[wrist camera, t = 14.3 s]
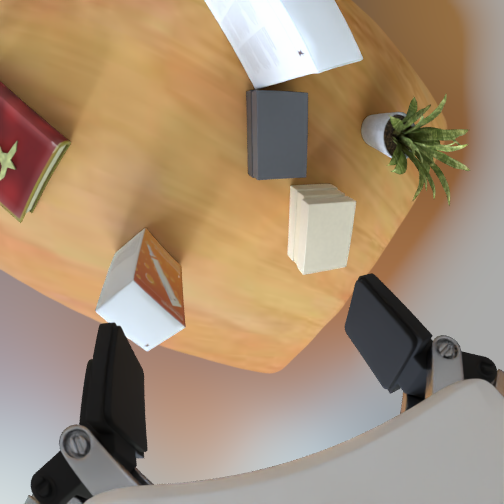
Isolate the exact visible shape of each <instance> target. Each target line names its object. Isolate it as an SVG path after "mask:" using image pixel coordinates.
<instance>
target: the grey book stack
mask: <svg viewBox="0 0 504 504" xmlns="http://www.w3.org/2000/svg"><path fill="white" fill-rule="evenodd" d="M246 100H247V149H248V174H249V175H250V176H251V177H252V178H254V177H255V178H256V179H257V180H267V179H283V178H303V177H306V169H307V138H308V93H304V92H291V91H270V90H250V91H247V92H246Z"/></svg>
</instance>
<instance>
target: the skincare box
mask: <svg viewBox="0 0 504 504" xmlns="http://www.w3.org/2000/svg"><path fill="white" fill-rule="evenodd" d="M205 2H206V4H207V5H208V7H209V8H210V10H211V12H212V13H213V15H214V17H215V18H216V20H217V22H218V23H219V25H220V27H221V28H222V30H223V32H224V33H225V35H226V37H227V38H228V40H229V42H230V44H231V45H232V47H233V49H234V51H235V52H236V54H237V56H238V58H239V60H240V61H241V63H242V65H243V67H244V69H245V71H246V73H247V74H248V76H249V78H250V80H251V82H252V84H253V86H254V88H255V89H256V90H259V89H262V88H265V87H268V86H271V85H274V84H278V83H281V82H284V81H287V80H291V79H294V78H298V77H301V76H305V75H309V74H312V73H314V74H315V73H321V72H323V71H326V70H329V69H333V68H336V67H339V66H343V65H347V64H350V63H354V62H357V61H360V60H363V57H362V55H361V52H360V50H359V48H358V46H357V43H356V41H355V39H354V37H353V35H352V33H351V31H350V29H349V27H348V25H347V23H346V21H345V19H344V17H343V15H342V13H341V11H340V9H339V7H338V6H337V4H336V2H335V0H205Z"/></svg>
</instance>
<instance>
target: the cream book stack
mask: <svg viewBox="0 0 504 504" xmlns="http://www.w3.org/2000/svg"><path fill="white" fill-rule="evenodd" d="M339 196H345V193H343V192H341V191H339V190H337V187H335V186H334V185H332V184H308V185H291V186H290V212H289V235H288V256H289V257H290V258H291V260H292V261H295V263H296V264H297V260H298V247H299V233H300V217H301V199H308V198H322V197H339Z"/></svg>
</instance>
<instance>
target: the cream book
mask: <svg viewBox="0 0 504 504" xmlns="http://www.w3.org/2000/svg"><path fill="white" fill-rule="evenodd" d="M355 207H356V201H355V200H353V199H352V198H350V197H348V196H339V197H322V198H308V199H301V217H300V233H299V247H298V260H297V267H298V269H299V270H300V271H301V273H302V274H303V275H304V274H310V273H315V272H321V271H326V270H332V269H337V268H342V267H346V265H347V259H348V253H349V248H350V242H351V235H352V229H353V222H354V215H355Z"/></svg>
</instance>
